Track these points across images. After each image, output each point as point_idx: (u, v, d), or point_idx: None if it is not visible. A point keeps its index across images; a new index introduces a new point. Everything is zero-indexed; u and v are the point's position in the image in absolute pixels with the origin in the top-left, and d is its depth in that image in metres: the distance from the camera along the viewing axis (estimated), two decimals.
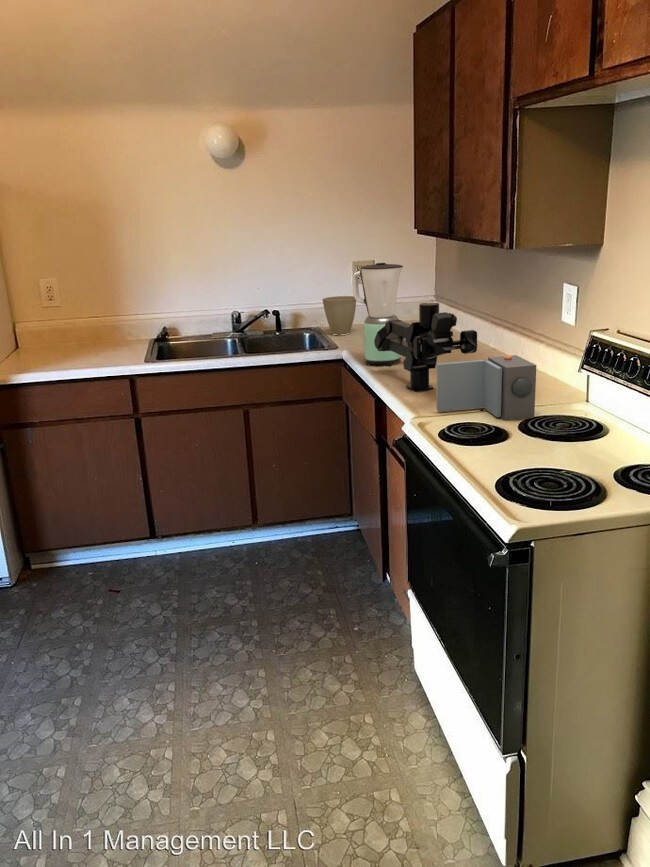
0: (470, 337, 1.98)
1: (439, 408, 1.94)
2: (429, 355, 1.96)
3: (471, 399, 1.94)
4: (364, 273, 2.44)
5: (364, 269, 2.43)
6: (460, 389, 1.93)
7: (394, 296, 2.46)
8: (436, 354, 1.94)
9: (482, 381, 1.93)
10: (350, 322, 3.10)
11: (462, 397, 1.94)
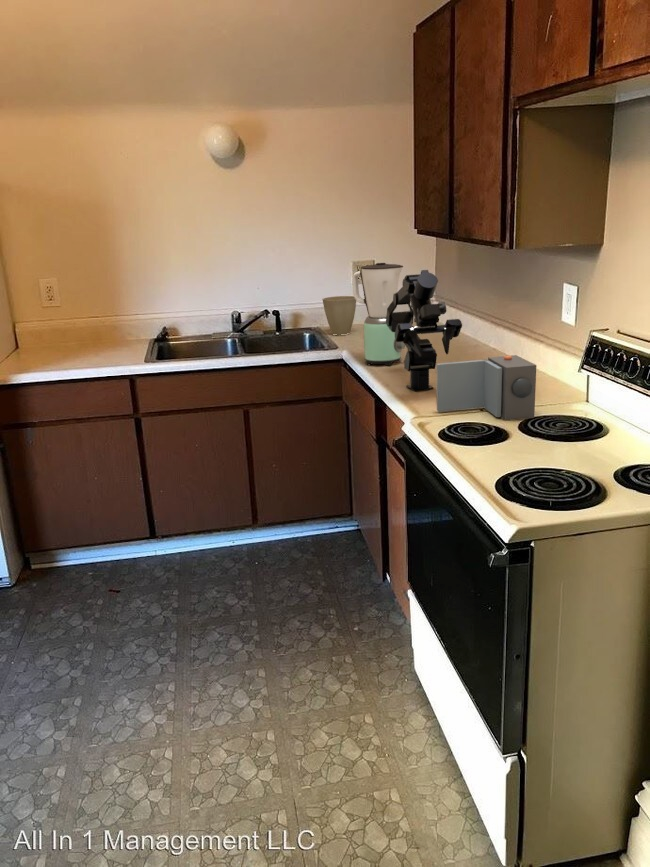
0: (450, 333, 2.03)
1: (439, 408, 1.94)
2: (409, 344, 2.05)
3: (471, 399, 1.94)
4: (364, 273, 2.44)
5: (364, 269, 2.43)
6: (460, 389, 1.93)
7: None
8: (414, 350, 2.03)
9: (482, 381, 1.93)
10: (350, 322, 3.10)
11: (462, 397, 1.94)
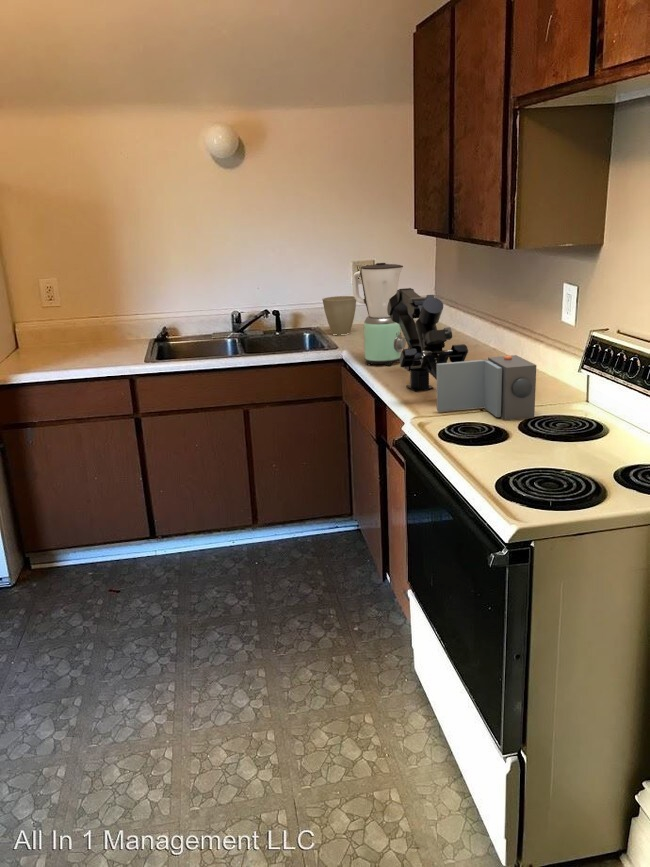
0: (443, 360, 2.00)
1: (439, 408, 1.94)
2: (427, 368, 2.02)
3: (471, 399, 1.94)
4: (364, 273, 2.44)
5: (364, 269, 2.43)
6: (460, 389, 1.93)
7: None
8: (432, 374, 2.01)
9: (482, 381, 1.93)
10: (350, 322, 3.10)
11: (462, 397, 1.94)
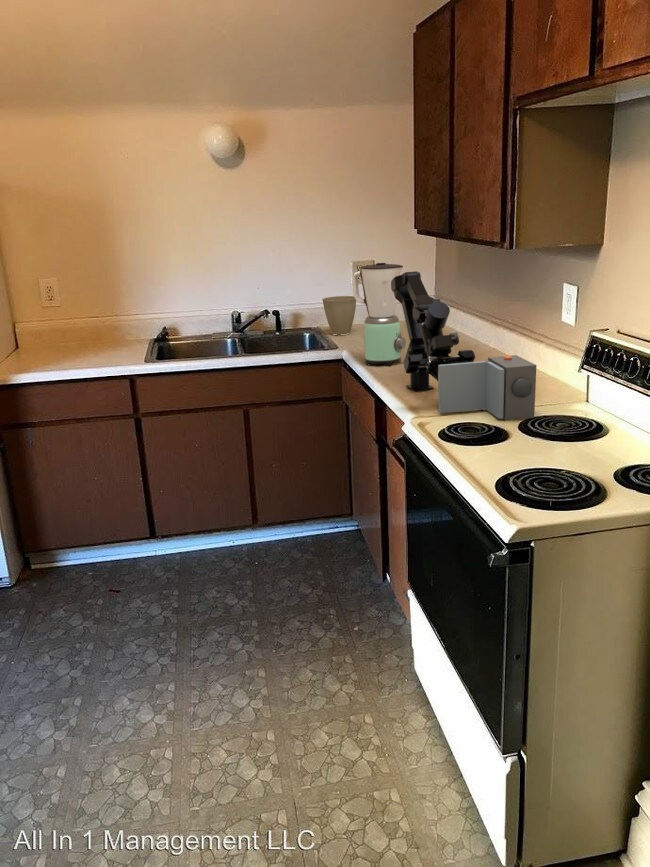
0: None
1: (441, 410, 1.92)
2: (433, 374, 1.97)
3: (473, 400, 1.93)
4: (364, 273, 2.44)
5: (364, 269, 2.43)
6: (462, 390, 1.92)
7: (394, 296, 2.46)
8: None
9: (484, 382, 1.92)
10: (350, 322, 3.10)
11: (464, 398, 1.92)
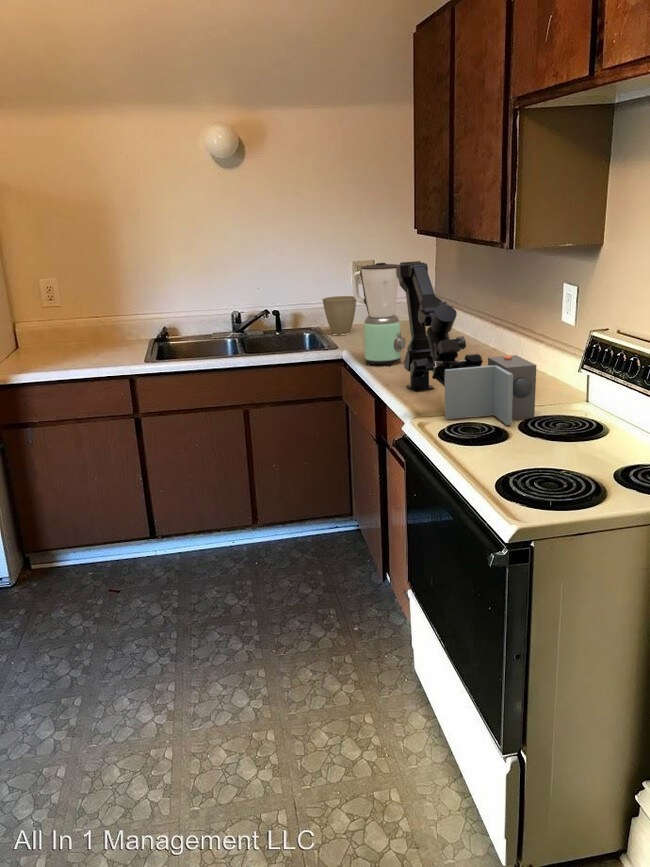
0: None
1: (447, 415, 1.87)
2: (439, 379, 1.92)
3: (480, 406, 1.88)
4: (364, 273, 2.44)
5: (364, 269, 2.43)
6: (469, 395, 1.86)
7: (394, 296, 2.46)
8: None
9: (492, 387, 1.86)
10: (350, 322, 3.10)
11: (471, 403, 1.87)
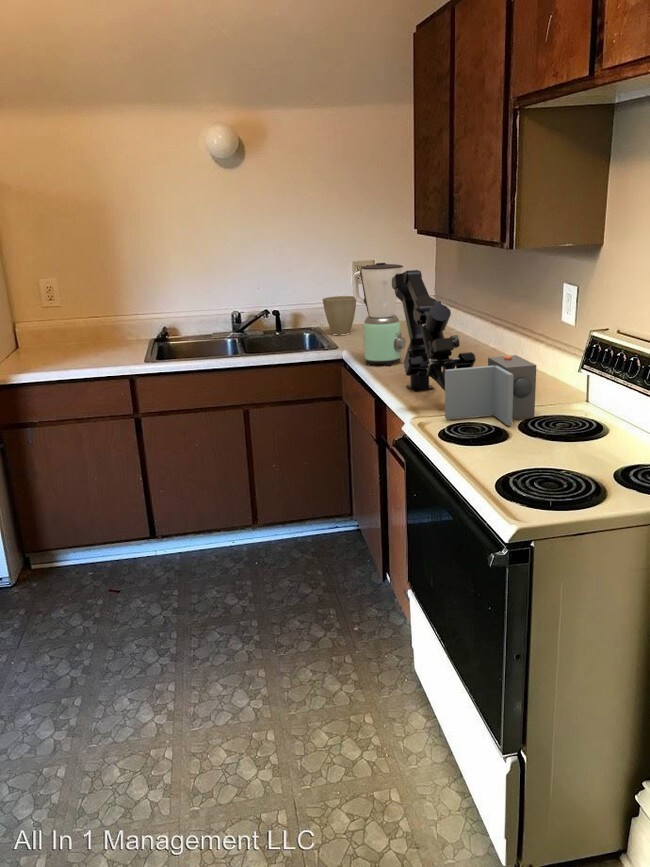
0: None
1: (447, 416, 1.87)
2: (433, 377, 1.97)
3: (481, 406, 1.87)
4: (364, 273, 2.44)
5: (364, 269, 2.43)
6: (469, 395, 1.86)
7: (394, 296, 2.46)
8: (439, 383, 1.95)
9: (492, 388, 1.86)
10: (350, 322, 3.10)
11: (472, 404, 1.87)
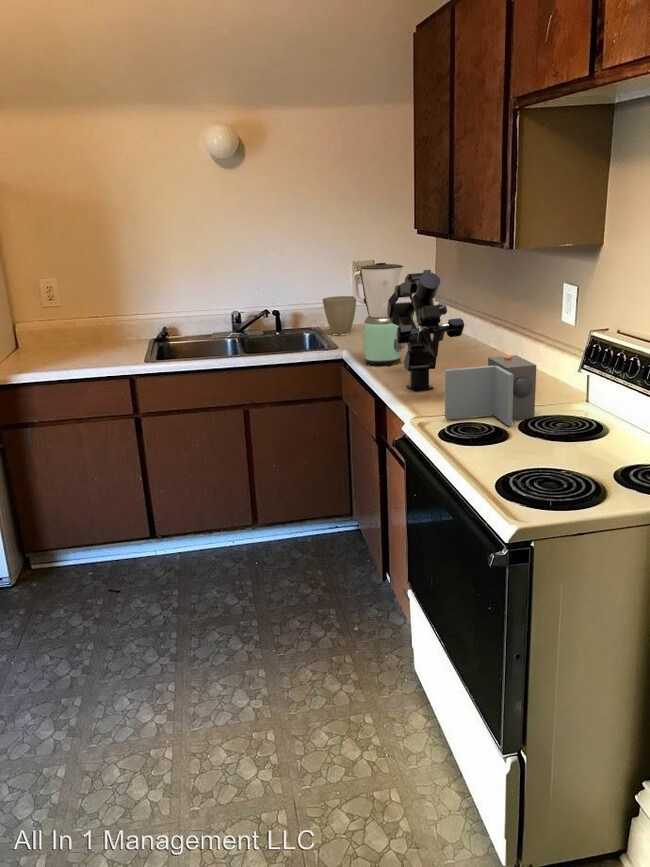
0: (439, 335, 2.01)
1: (447, 416, 1.87)
2: (424, 344, 2.04)
3: (481, 406, 1.87)
4: (364, 273, 2.44)
5: (364, 269, 2.43)
6: (469, 395, 1.86)
7: None
8: (429, 350, 2.02)
9: (492, 388, 1.86)
10: (350, 322, 3.10)
11: (472, 404, 1.87)
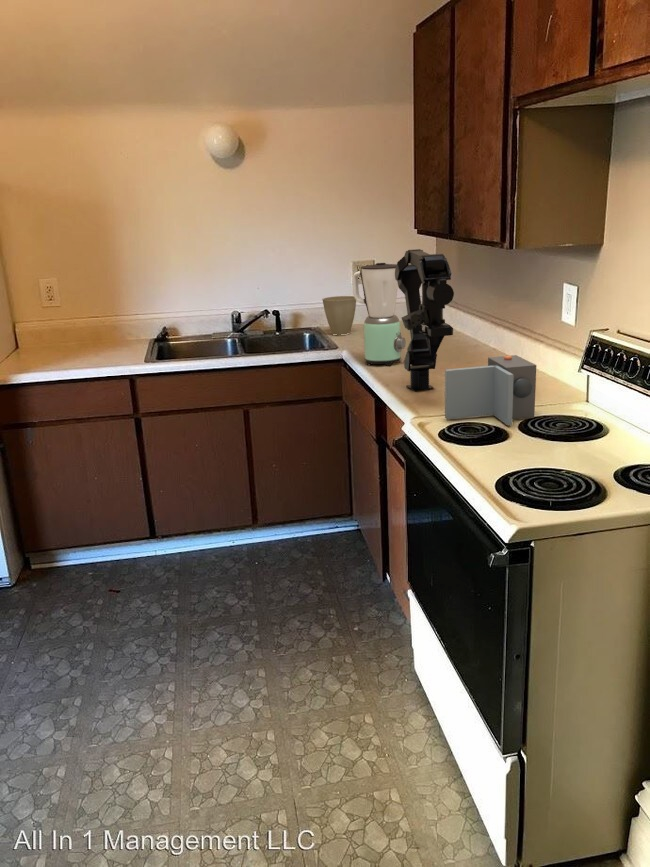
0: (428, 338, 1.99)
1: (447, 416, 1.87)
2: None
3: (481, 406, 1.87)
4: (364, 273, 2.44)
5: (364, 269, 2.43)
6: (469, 395, 1.86)
7: (394, 296, 2.46)
8: None
9: (492, 388, 1.86)
10: (350, 322, 3.10)
11: (472, 404, 1.87)
